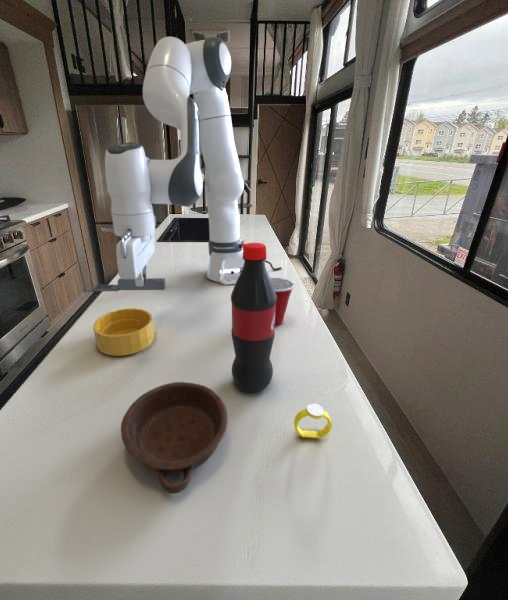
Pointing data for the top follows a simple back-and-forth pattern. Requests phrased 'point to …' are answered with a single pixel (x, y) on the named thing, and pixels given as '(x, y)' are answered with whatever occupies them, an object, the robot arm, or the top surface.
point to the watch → (316, 413)
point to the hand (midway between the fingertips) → (141, 282)
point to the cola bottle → (253, 321)
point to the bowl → (124, 331)
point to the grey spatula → (134, 285)
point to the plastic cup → (281, 297)
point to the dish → (174, 429)
